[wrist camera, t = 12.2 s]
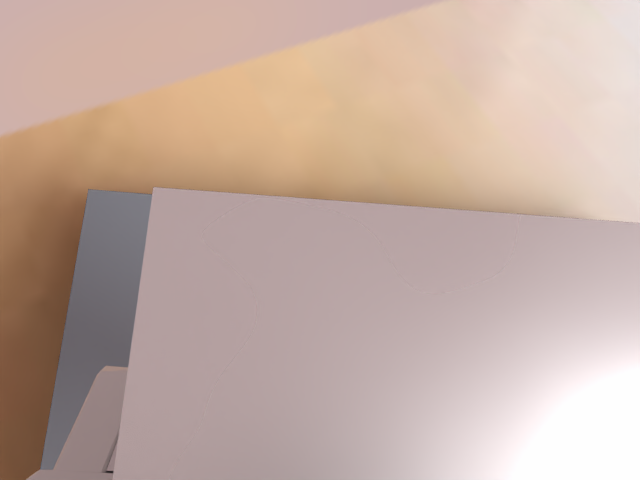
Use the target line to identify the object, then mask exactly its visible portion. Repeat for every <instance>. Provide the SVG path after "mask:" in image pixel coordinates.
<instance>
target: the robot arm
mask: <svg viewBox="0 0 640 480" xmlns="http://www.w3.org/2000/svg"><path fill="white" fill-rule="evenodd" d="M127 372H128V368H127V367H115V366H105V367H104V368H103V369H102V370H101V371H100V372H99V373H98V374H97V376H96V378H95V380H94V382H93V384H92V387H91V389H90V391H89V393H88V395H87V397H86V400H85V402H84V404H83V406H82V408H81V410H80V413H79V415H78V417H77V419H76V421H75V423H74V425H73V428H72V430H71V432H70V434H69V436H68V438H67V441H66V443H65V445H64V447H63V449H62V451H61V453H60V456H59V458H58V460H57V462H56V464H55V466H54V469H53V470H41V469H39V470H38V471H37V472H35V473H34V474H32V475H31V476H30V477H28V478H27V479H26V480H112V479H113V472H114V465H115V458H116V451H117V444H118V436H119V429H120V422H121V415H122V408H123V401H124V393H125V386H126V379H127Z"/></svg>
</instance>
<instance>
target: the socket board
mask: <svg viewBox="0 0 640 480" xmlns="http://www.w3.org/2000/svg"><path fill="white" fill-rule="evenodd" d="M151 200H152V194H141V193H128V192H116V191H104V190H91V189H88V195H87V201H86V207H85V212H84V218H83V224H82V230H81V235H80V241H79V247H78V253H77V259H76V264H75V270H74V276H73V282H72V288H71V293H70V299H69V305H68V311H67V317H66V322H65V328H64V334H63V340H62V346H61V351H60V357H59V363H58V369H57V375H56V380H55V386H54V392H53V398H52V404H51V409H50V415H49V421H48V427H47V432H46V438H45V444H44V450H43V456H42V461H41V467H40V469H41V470H53V469H54V466H55V464H56V462H57V460H58V458H59V456H60V453H61V451H62V449H63V447H64V445H65V443H66V441H67V438H68V436H69V434H70V432H71V430H72V428H73V425H74V423H75V421H76V419H77V417H78V415H79V413H80V410H81V408H82V406H83V404H84V402H85V400H86V397H87V395H88V393H89V391H90V389H91V387H92V384H93V382H94V380H95V378H96V376H97V374H98V373H99V372H100V371H101V370H102V369H103V368H104V367H105V366H115V367H127V368H128V365H129V358H130V351H131V343H132V336H133V329H134V322H135V315H136V308H137V301H138V293H139V286H140V279H141V272H142V265H143V258H144V251H145V243H146V236H147V229H148V222H149V215H150V208H151Z"/></svg>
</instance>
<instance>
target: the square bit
mask: <svg viewBox="0 0 640 480" xmlns="http://www.w3.org/2000/svg"><path fill="white" fill-rule="evenodd" d="M112 480H640V223H633V222H619V221H606V220H592V219H579V218H565V217H552V216H538V215H525V214H511V213H497V212H484V211H470V210H457V209H443V208H430V207H416V206H403V205H389V204H375V203H362V202H348V201H335V200H321V199H308V198H294V197H281V196H267V195H254V194H240V193H226V192H213V191H199V190H186V189H172V188H159V187H153V193H152V200H151V208H150V215H149V222H148V229H147V236H146V243H145V251H144V258H143V265H142V272H141V279H140V286H139V293H138V301H137V308H136V315H135V322H134V329H133V336H132V343H131V351H130V358H129V365H128V372H127V379H126V386H125V393H124V401H123V408H122V415H121V422H120V429H119V436H118V444H117V451H116V458H115V465H114V472H113V479H112Z"/></svg>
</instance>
